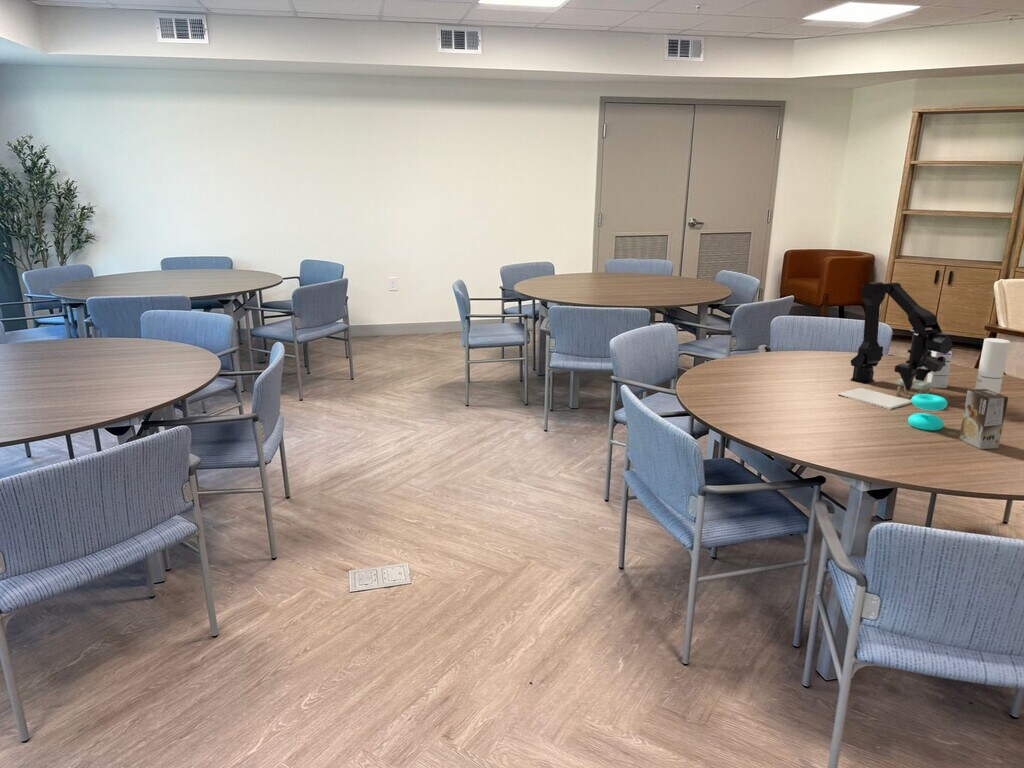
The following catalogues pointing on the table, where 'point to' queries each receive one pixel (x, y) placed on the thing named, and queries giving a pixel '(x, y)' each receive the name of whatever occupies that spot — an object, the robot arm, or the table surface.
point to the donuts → (927, 420)
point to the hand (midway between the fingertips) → (913, 388)
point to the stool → (914, 386)
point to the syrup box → (941, 376)
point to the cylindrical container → (992, 364)
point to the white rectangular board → (876, 398)
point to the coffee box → (983, 418)
